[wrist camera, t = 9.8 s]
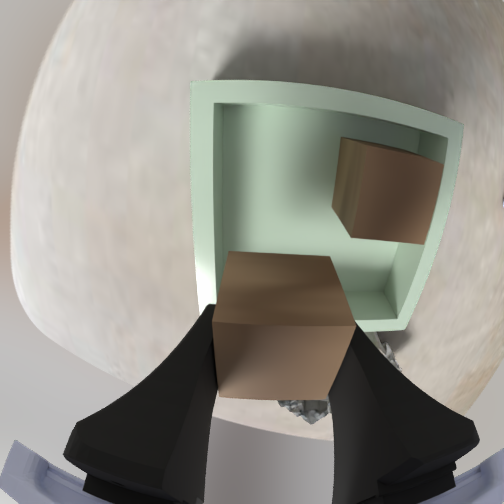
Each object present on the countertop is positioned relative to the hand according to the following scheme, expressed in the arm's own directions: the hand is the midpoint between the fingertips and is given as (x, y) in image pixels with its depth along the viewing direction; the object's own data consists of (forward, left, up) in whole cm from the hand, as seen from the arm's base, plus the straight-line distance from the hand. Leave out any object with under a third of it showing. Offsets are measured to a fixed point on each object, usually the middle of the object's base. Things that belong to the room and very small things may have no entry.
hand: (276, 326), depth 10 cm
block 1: (0, 0, -2) cm, 2 cm away
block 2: (-5, -5, -7) cm, 10 cm away
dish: (-3, -3, -7) cm, 8 cm away
